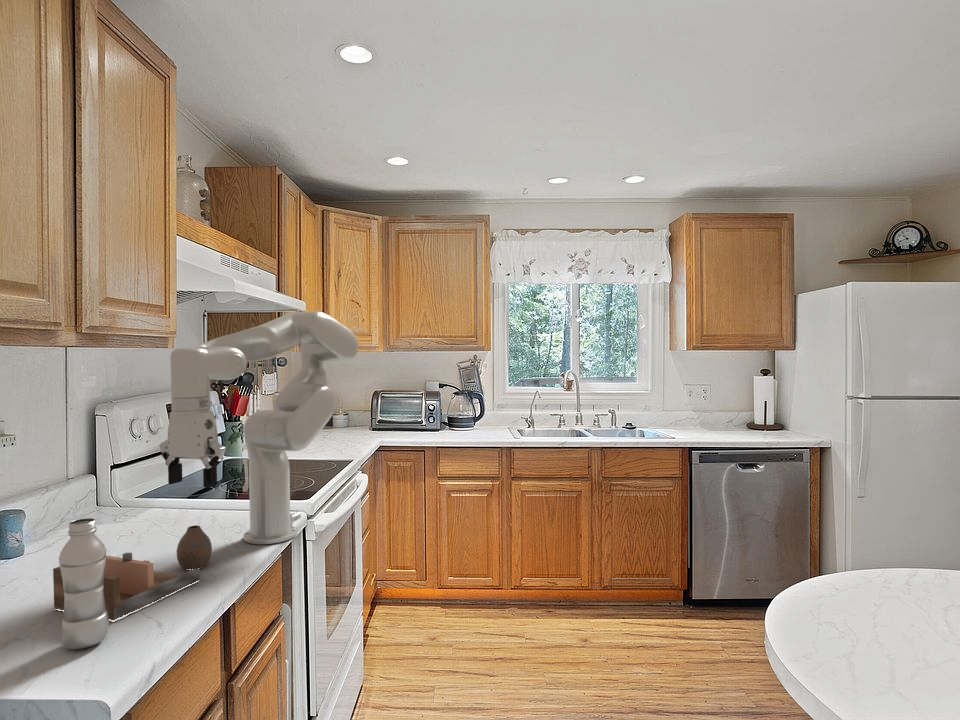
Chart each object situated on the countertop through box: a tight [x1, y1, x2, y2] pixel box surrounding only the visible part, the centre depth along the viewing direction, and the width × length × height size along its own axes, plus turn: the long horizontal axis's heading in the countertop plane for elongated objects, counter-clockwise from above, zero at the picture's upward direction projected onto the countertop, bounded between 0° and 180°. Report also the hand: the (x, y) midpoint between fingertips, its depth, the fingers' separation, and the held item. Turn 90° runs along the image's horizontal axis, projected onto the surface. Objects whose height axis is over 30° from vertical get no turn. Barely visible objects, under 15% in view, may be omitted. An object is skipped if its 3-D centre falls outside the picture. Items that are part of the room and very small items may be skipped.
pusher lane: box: [52, 560, 201, 620], centre depth 116 cm, size 19×15×8 cm
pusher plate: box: [104, 552, 154, 596], centre depth 115 cm, size 2×12×8 cm, turn 70°
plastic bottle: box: [58, 517, 110, 650], centre depth 97 cm, size 6×7×20 cm
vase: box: [176, 524, 213, 570], centre depth 130 cm, size 7×7×9 cm
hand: (192, 484), depth 130 cm, fingers open, 9 cm apart
